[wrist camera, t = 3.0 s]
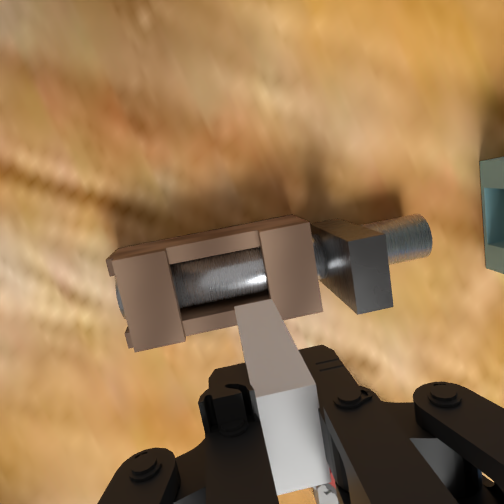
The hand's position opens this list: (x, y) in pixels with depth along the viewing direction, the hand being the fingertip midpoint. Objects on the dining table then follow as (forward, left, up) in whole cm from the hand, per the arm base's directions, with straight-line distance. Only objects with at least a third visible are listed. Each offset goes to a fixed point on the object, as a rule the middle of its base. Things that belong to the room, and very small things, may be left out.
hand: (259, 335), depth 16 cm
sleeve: (-1, 0, -13) cm, 13 cm away
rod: (+3, 0, -12) cm, 13 cm away
